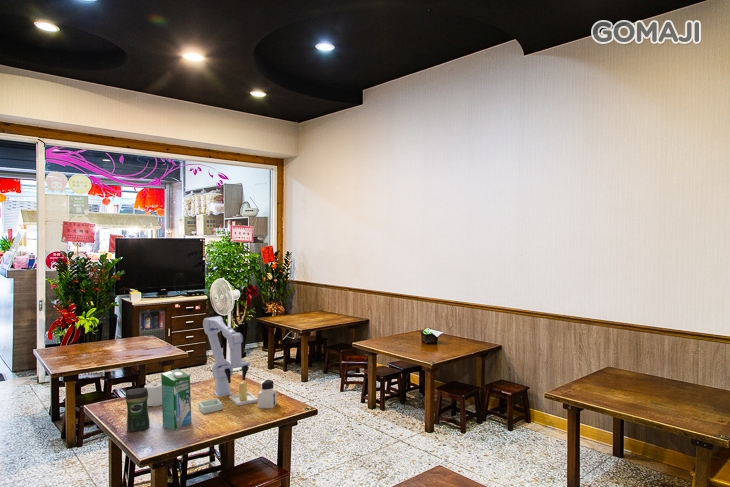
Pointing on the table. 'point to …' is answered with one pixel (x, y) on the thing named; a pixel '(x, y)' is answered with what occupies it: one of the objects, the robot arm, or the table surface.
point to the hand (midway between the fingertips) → (236, 381)
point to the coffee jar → (137, 409)
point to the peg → (243, 391)
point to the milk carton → (176, 399)
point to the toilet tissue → (154, 393)
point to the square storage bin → (210, 406)
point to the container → (267, 395)
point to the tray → (237, 401)
